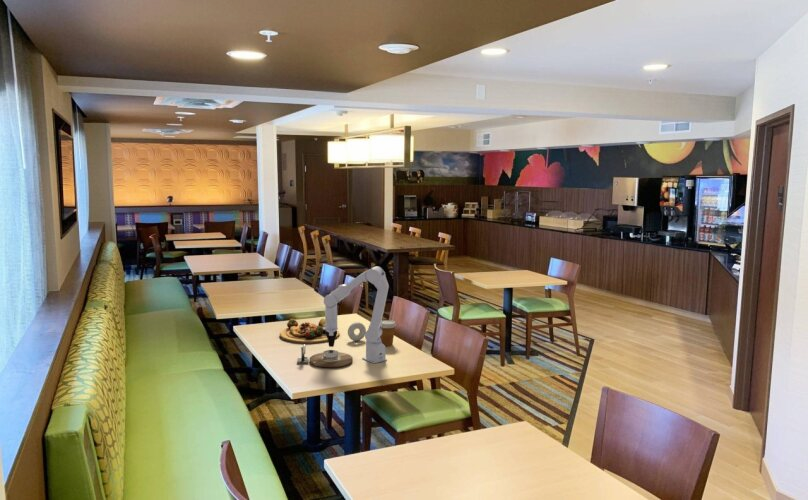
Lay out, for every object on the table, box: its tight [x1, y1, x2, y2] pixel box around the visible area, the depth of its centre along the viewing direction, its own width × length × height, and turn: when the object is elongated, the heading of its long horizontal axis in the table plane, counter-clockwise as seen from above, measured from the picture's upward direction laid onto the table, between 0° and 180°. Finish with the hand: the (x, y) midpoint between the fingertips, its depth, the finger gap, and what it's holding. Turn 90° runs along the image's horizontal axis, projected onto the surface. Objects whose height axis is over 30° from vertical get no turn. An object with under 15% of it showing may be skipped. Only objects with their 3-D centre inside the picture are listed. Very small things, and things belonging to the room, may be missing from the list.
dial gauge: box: [296, 344, 310, 365], centre depth 271 cm, size 5×5×8 cm
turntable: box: [309, 351, 354, 368], centre depth 273 cm, size 20×20×1 cm
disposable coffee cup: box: [380, 319, 397, 347], centre depth 302 cm, size 10×10×12 cm
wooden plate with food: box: [279, 318, 341, 345], centre depth 317 cm, size 32×32×8 cm
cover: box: [322, 349, 339, 361], centre depth 273 cm, size 7×7×3 cm
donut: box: [347, 321, 367, 342], centre depth 308 cm, size 10×4×10 cm, turn 113°
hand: (331, 346), depth 282 cm, fingers closed
